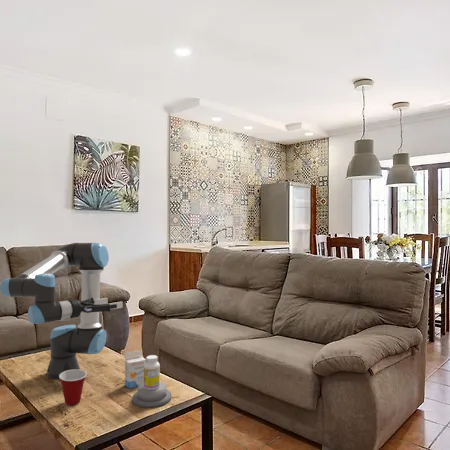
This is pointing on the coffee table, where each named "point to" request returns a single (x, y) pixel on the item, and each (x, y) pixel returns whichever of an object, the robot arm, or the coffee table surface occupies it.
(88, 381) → the coffee table surface
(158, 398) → the grey hat
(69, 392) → the plastic cup
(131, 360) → the ink box
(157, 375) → the supplement bottle
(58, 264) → the robot arm
